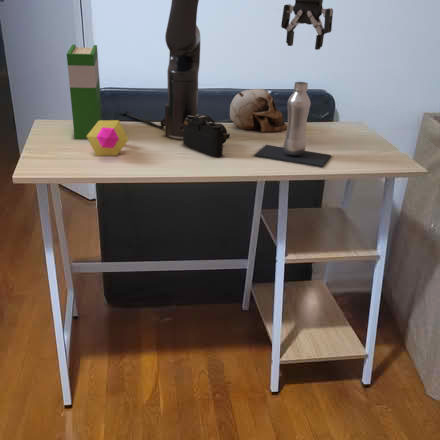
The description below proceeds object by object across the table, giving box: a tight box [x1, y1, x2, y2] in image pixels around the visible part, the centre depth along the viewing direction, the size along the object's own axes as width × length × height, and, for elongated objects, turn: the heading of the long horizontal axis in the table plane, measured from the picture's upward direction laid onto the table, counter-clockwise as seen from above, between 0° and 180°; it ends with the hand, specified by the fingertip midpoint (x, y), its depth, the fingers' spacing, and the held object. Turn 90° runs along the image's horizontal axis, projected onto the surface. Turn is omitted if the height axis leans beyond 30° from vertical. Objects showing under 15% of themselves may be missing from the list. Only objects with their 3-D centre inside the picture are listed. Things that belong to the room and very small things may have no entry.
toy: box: [87, 119, 130, 157], centre depth 157 cm, size 10×18×10 cm, turn 11°
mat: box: [254, 144, 332, 168], centre depth 163 cm, size 20×11×1 cm, turn 68°
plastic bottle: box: [282, 81, 311, 155], centre depth 158 cm, size 6×7×20 cm
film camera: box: [180, 113, 231, 158], centre depth 164 cm, size 18×12×10 cm
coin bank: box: [229, 88, 287, 133], centre depth 186 cm, size 16×17×13 cm
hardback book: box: [66, 44, 103, 140], centre depth 171 cm, size 18×7×24 cm, turn 7°
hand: (303, 47), depth 158 cm, fingers open, 8 cm apart
